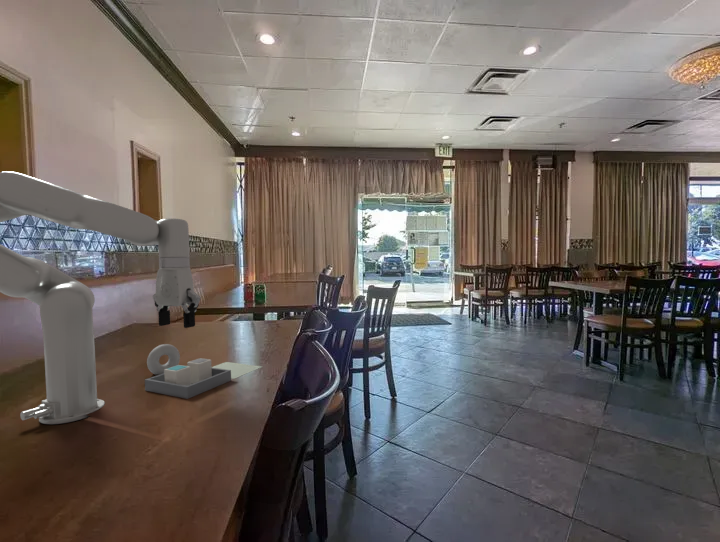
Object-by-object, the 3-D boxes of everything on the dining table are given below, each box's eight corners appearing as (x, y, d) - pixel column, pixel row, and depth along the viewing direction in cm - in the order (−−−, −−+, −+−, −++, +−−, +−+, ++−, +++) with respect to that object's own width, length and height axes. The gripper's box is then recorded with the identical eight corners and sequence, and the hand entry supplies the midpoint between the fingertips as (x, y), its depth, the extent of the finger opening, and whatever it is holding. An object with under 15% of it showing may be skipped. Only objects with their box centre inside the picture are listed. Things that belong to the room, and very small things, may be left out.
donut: (150, 380, 112) (149, 348, 112) (145, 378, 115) (144, 346, 114) (182, 371, 120) (181, 341, 120) (177, 370, 123) (176, 340, 122)
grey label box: (199, 384, 105) (198, 363, 104) (188, 382, 106) (187, 361, 106) (211, 379, 109) (211, 359, 109) (200, 377, 111) (200, 357, 110)
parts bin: (187, 402, 94) (187, 387, 94) (145, 393, 101) (144, 379, 101) (231, 383, 108) (230, 370, 108) (191, 377, 115) (190, 364, 115)
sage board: (234, 382, 109) (233, 378, 109) (195, 375, 116) (195, 372, 116) (262, 369, 121) (262, 366, 121) (226, 364, 128) (226, 361, 128)
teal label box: (176, 393, 98) (175, 370, 98) (165, 391, 100) (164, 369, 100) (191, 387, 102) (190, 366, 102) (179, 385, 104) (178, 364, 104)
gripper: (140, 264, 100) (143, 326, 101) (185, 264, 93) (187, 330, 94) (165, 264, 107) (167, 322, 108) (208, 263, 100) (210, 325, 100)
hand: (176, 326), depth 101 cm, fingers open, 9 cm apart
